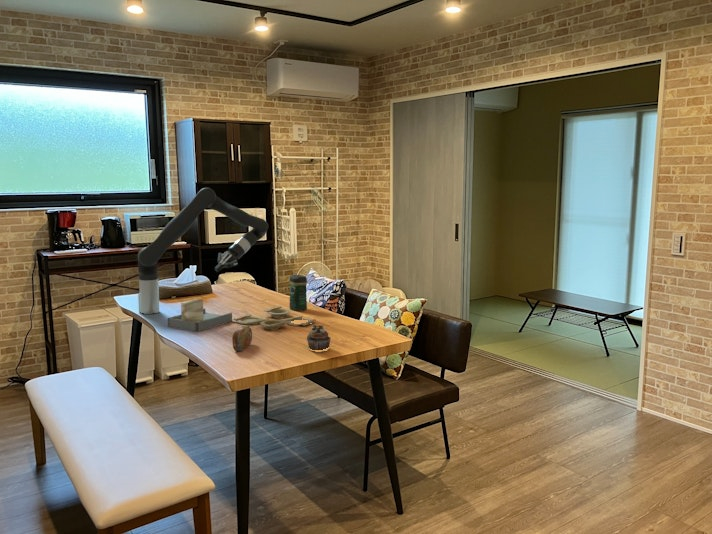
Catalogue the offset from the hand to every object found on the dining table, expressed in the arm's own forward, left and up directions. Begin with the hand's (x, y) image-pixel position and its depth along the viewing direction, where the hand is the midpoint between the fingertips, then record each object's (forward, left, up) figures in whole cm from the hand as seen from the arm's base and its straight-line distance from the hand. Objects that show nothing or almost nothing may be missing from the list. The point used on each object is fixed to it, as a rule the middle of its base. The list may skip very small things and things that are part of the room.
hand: (216, 270), depth 284 cm
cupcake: (+74, -23, -23) cm, 81 cm away
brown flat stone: (+46, -37, -24) cm, 63 cm away
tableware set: (+32, +5, -24) cm, 40 cm away
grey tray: (+4, -16, -23) cm, 28 cm away
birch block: (+4, -21, -21) cm, 30 cm away
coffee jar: (+26, +34, -23) cm, 49 cm away
